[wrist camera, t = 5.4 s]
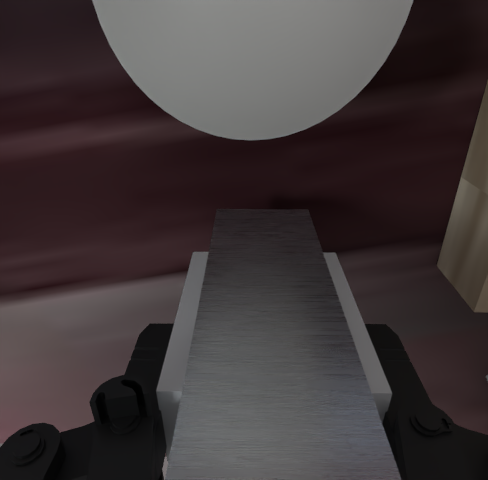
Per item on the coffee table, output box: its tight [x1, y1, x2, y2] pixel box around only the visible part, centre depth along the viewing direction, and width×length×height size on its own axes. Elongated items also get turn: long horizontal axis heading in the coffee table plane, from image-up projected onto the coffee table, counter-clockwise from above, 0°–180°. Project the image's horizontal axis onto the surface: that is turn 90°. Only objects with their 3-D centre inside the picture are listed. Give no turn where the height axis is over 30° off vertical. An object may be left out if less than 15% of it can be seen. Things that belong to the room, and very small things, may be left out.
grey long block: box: [165, 209, 401, 480], centre depth 11 cm, size 4×4×14 cm
